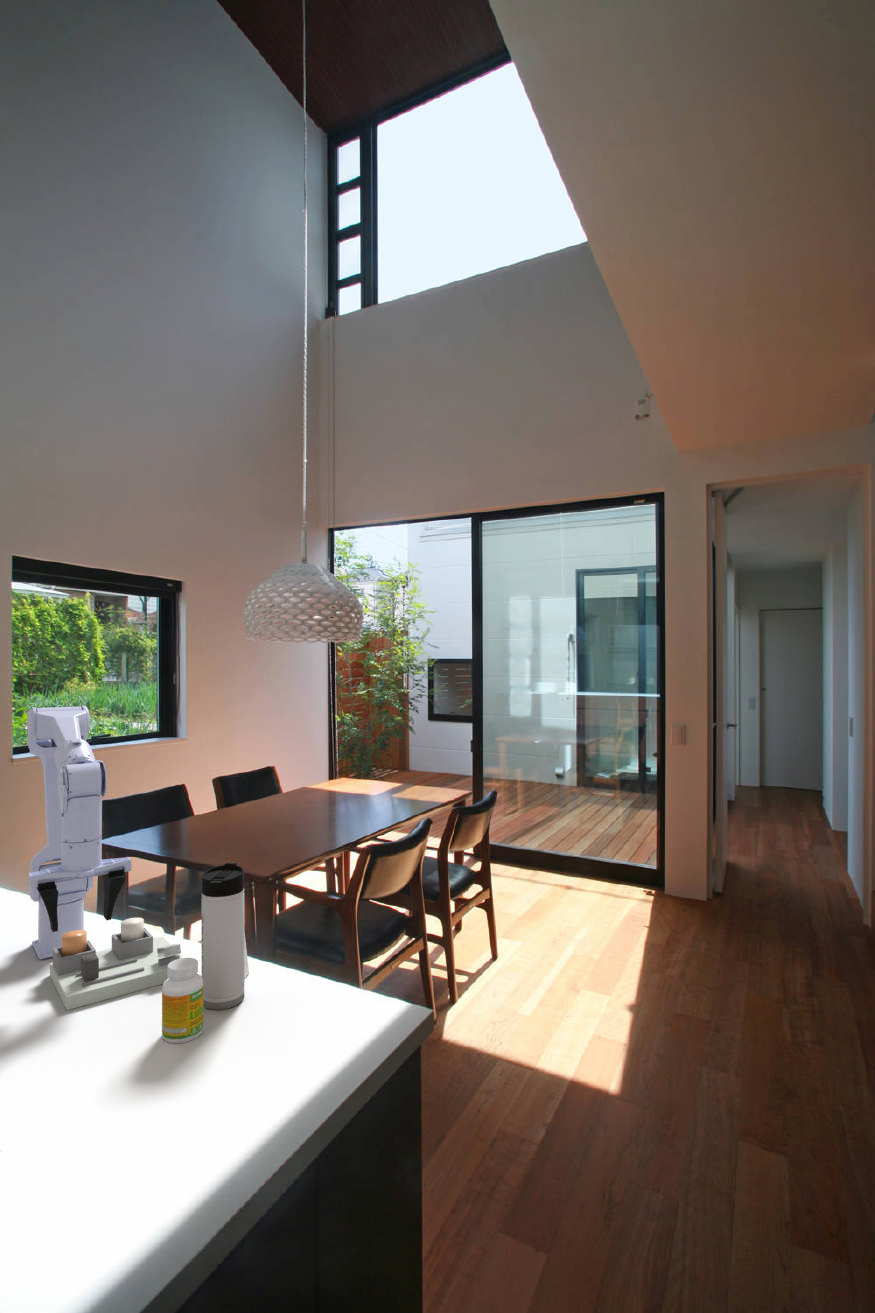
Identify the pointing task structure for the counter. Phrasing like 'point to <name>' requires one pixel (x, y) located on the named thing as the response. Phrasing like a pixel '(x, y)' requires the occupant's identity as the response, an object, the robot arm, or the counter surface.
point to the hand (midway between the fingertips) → (81, 924)
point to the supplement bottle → (182, 1001)
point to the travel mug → (223, 936)
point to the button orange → (74, 942)
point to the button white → (132, 929)
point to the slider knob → (89, 967)
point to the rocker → (169, 950)
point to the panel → (111, 970)
